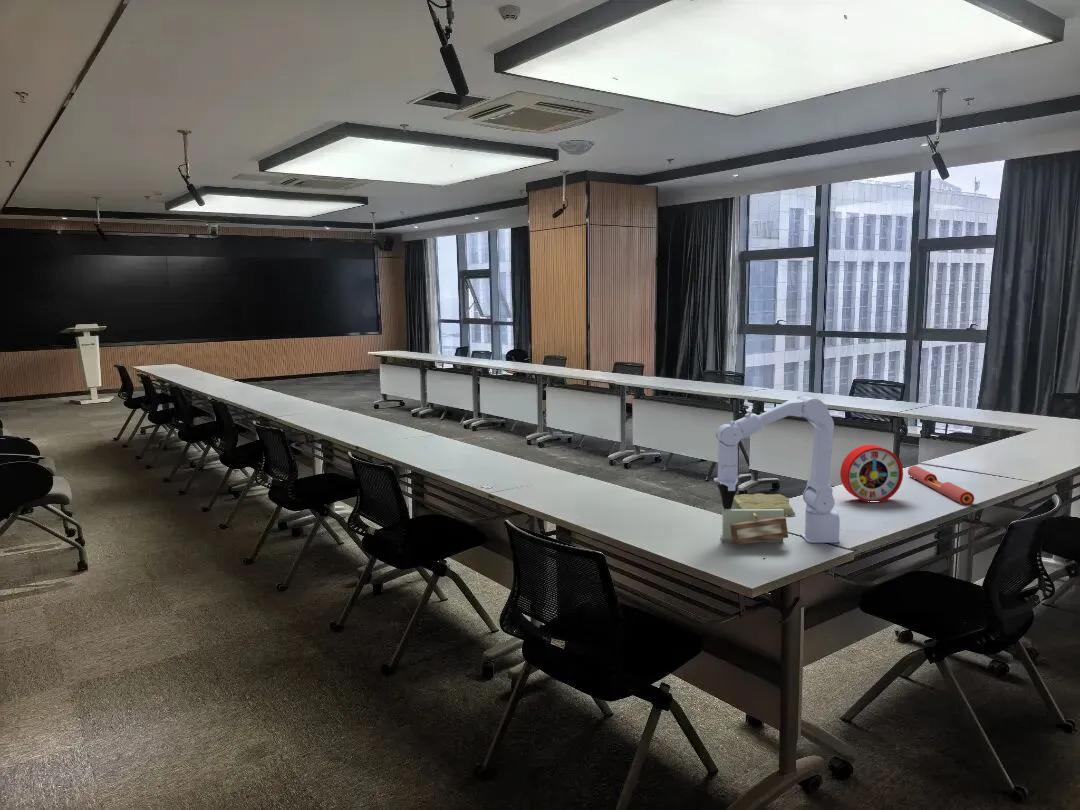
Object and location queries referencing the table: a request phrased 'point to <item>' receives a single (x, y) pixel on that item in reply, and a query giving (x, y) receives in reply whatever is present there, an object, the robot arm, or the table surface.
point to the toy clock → (871, 473)
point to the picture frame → (759, 530)
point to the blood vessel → (941, 486)
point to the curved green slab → (746, 519)
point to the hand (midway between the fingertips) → (727, 508)
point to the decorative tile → (763, 502)
